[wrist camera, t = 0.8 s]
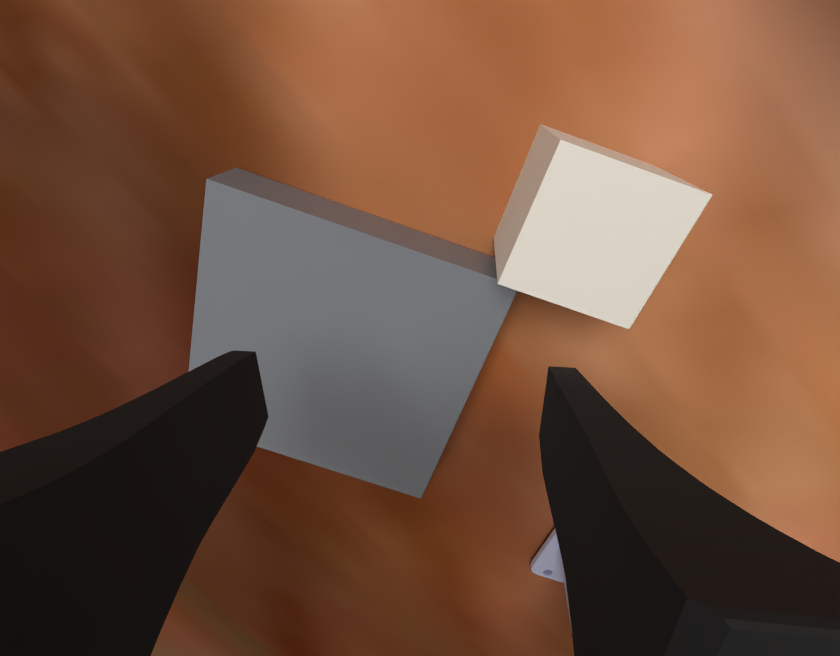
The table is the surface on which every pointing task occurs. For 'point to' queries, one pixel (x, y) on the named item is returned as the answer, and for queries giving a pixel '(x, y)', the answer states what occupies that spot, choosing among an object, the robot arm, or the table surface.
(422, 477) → the plate
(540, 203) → the block
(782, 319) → the table surface
